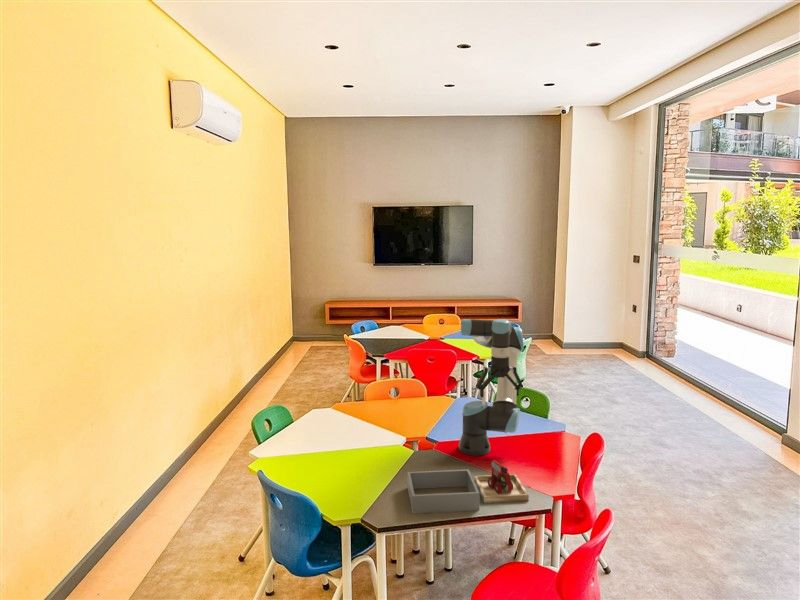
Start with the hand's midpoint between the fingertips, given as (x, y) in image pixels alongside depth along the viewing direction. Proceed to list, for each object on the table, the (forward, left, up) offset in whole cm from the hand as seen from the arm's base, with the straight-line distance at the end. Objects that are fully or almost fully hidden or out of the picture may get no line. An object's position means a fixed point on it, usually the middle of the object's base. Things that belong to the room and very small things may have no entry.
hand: (499, 403), depth 238 cm
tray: (+16, -3, -32) cm, 36 cm away
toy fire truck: (+16, -3, -31) cm, 35 cm away
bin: (+20, -28, -32) cm, 47 cm away
